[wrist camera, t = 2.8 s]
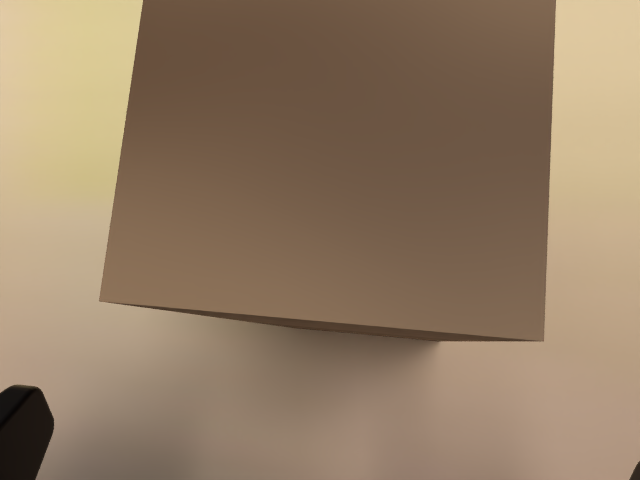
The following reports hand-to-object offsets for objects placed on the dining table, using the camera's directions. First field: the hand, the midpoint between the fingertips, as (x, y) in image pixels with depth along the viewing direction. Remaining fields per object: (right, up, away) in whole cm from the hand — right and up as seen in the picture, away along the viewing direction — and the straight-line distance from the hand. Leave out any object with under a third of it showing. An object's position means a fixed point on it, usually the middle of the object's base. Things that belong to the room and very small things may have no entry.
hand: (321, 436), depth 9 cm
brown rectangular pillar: (+2, +2, +12) cm, 12 cm away
